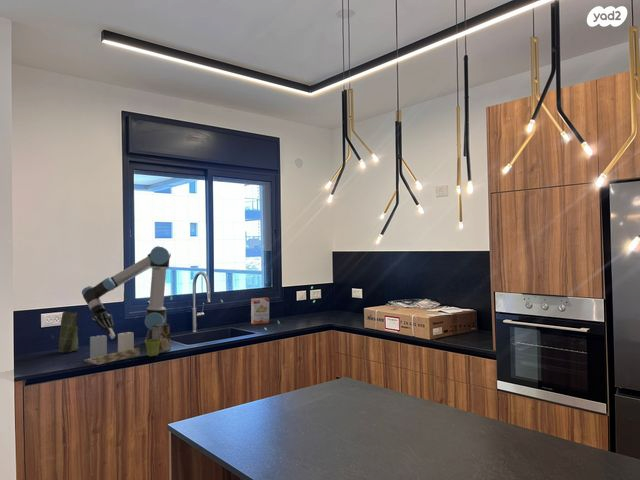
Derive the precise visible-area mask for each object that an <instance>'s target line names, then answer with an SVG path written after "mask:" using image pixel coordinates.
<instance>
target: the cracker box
mask: <svg viewBox="0 0 640 480" xmlns="http://www.w3.org/2000/svg"><path fill="white" fill-rule="evenodd" d="M250 303H251V304H250V305H251V306H250V309H251V310H250V320H251V321H250V322H251V325H264V324H265V325H266V324H270V298H269V297H257V298H251V299H250Z"/></svg>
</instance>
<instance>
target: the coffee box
mask: <svg viewBox="0 0 640 480" xmlns="http://www.w3.org/2000/svg"><path fill="white" fill-rule="evenodd" d="M152 339H161V341H160V346H159V354H160V353H163V352H167V351H171V350H172V349H171V348H172V347H171V345H172V344H171V323H166V324H159V325H154V326H152Z"/></svg>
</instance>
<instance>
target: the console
mask: <svg viewBox="0 0 640 480" xmlns="http://www.w3.org/2000/svg"><path fill="white" fill-rule="evenodd" d="M140 353H141V351H140V348H139V347H136V348H134V349H131V350H127V351H122V352H118V351H117V352H113V353H107V355H104V356H99V357H97V359H91V358H86V359H83V362H84V363H89V364H93V365H98V366H99V365H102V364H108V363H113V362H115V361H120V360H125V359H129V358H134V357H137V356H141V355H140Z"/></svg>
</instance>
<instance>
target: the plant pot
mask: <svg viewBox="0 0 640 480" xmlns="http://www.w3.org/2000/svg"><path fill="white" fill-rule="evenodd" d="M160 341H161V339H150V340H146V339H145V340H144V344H145V347H146V348H145V349H146V355H147V356H148V357H153V356H155V357H156V356H158V355H159V354H160V353H159V346H160Z"/></svg>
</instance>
